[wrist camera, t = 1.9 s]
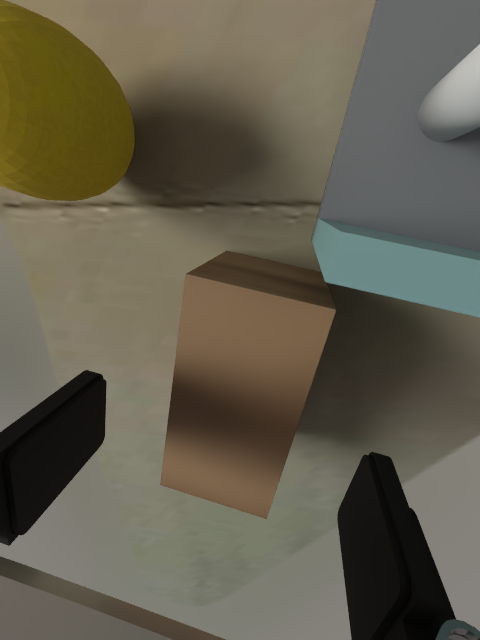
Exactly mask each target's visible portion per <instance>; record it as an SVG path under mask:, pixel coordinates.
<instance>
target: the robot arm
mask: <svg viewBox="0 0 480 640" xmlns="http://www.w3.org/2000/svg"><path fill="white" fill-rule="evenodd" d="M105 414H106V380H104V379H103V376H102V375H101V374H98V373H95V372H91V371H88V370H85V371H83V372H82V373H81V374H79V375H78V376H76V377H75V378H74V379H72V380H71V381H70V382H68V383H67V384H66V385H64V386H63V387H61V388H60V389H59V390H58V391H56V392H55V393H53V394H52V395H51V396H49V397H48V398H46V399H45V400H44V401H43V402H41V403H40V404H38V405H37V406H36V407H34V408H33V409H32V410H30V411H29V412H27V413H26V414H25V415H23V416H22V417H21V418H19V419H18V420H17V421H15V422H14V423H12V424H11V425H10V426H8V427H7V428H6V429H4V430H3V431H2V432H0V543H3V544H6V545H11V543H12V542H13V541H14V540H15V539H16V538H17V537H18V535H23V534H25V533H26V532H27V531H28V530H29V529H30V528H31V527H32V526H33V524H34V523H35V522H36V521H37V520H38V518H39V517H40V516H41V515H42V514H43V513H44V511H45V510H46V509H47V508H48V507H49V506H50V504H51V503H52V502H53V501H54V500H55V499H56V497H57V496H58V495H59V494H60V493H61V492H62V490H63V489H64V488H65V487H66V486H67V485H68V483H69V482H70V481H71V480H72V479H73V478H74V476H75V475H76V474H77V473H78V472H79V470H80V469H81V468H82V467H83V466H84V465H85V463H86V462H87V461H88V460H89V459H90V457H92V455H93V454H94V453H95V452H96V451H97V450H98V448H99V447H100V446H101V445H102V443H103V441H104V438H105ZM338 528H339V536H340V545H341V553H342V561H343V569H344V578H345V587H346V595H347V604H348V612H349V620H350V629H351V637H352V640H480V632H479V631H478V630H477V629H476V628H475V627H473V626H471V625H469V624H467V623H466V622H464V621H460V620H456V618H455V615H454V612H453V610H452V607H451V605H450V602H449V599H448V597H447V594H446V591H445V589H444V586H443V583H442V581H441V578H440V576H439V573H438V570H437V568H436V565H435V562H434V560H433V557H432V555H431V552H430V549H429V547H428V544H427V541H426V539H425V537H424V534H423V531H422V528H421V526H420V523H419V520H418V518H417V516H416V514H415V512H414V511H413V510H412V508H409V505H408V503H407V500H406V497H405V495H404V492H403V489H402V486H401V484H400V481H399V478H398V475H397V473H396V470H395V467H394V464H393V462H392V459H391V458H390V457H388V456H385V455H381V454H378V453H374V452H371V453H369V455H364V456H363V457H362V459H361V461H360V464H359V466H358V468H357V470H356V472H355V475H354V477H353V479H352V481H351V483H350V486H349V488H348V490H347V492H346V494H345V497H344V499H343V501H342V503H341V505H340V508H339V511H338ZM0 640H225V639H223V638H220V637H217V636H215V635H212V634H209V633H207V632H204V631H202V630H199V629H196V628H194V627H191V626H188V625H185V624H183V623H180V622H177V621H175V620H172V619H169V618H167V617H164V616H161V615H159V614H156V613H153V612H150V611H148V610H145V609H143V608H140V607H137V606H135V605H132V604H129V603H127V602H124V601H121V600H119V599H116V598H113V597H111V596H108V595H105V594H102V593H100V592H97V591H94V590H92V589H89V588H86V587H83V586H80V585H78V584H75V583H72V582H70V581H67V580H64V579H61V578H59V577H56V576H53V575H51V574H48V573H45V572H42V571H40V570H37V569H34V568H32V567H29V566H26V565H23V564H21V563H17V562H15V561H12V560H9V559H6V558H3V557H0Z"/></svg>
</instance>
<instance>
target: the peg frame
mask: <svg viewBox="0 0 480 640" xmlns="http://www.w3.org/2000/svg"><path fill="white" fill-rule="evenodd" d="M311 240H312V243H313V246H314V249H315V252H316V255H317V258H318V262H319V265H320V268H321V271H322V274H323V277H324V280H325V282H327V283H332V284H336V285H340V286H345V287H349V288H353V289H358V290H362V291H367V292H371V293H375V294H380V295H384V296H388V297H393V298H397V299H401V300H406V301H410V302H415V303H419V304H423V305H428V306H432V307H436V308H441V309H445V310H449V311H454V312H458V313H463V314H467V315H471V316H476V317H480V0H377V1H376V4H375V8H374V12H373V15H372V19H371V23H370V26H369V30H368V34H367V37H366V41H365V45H364V48H363V52H362V56H361V59H360V63H359V67H358V70H357V74H356V78H355V81H354V85H353V89H352V92H351V96H350V100H349V103H348V107H347V111H346V114H345V118H344V122H343V125H342V129H341V132H340V136H339V140H338V143H337V147H336V151H335V154H334V158H333V162H332V165H331V169H330V173H329V176H328V180H327V184H326V187H325V191H324V195H323V198H322V202H321V206H320V209H319V213H318V217H317V220H316V224H315V228H314V231H313V235H312V239H311Z"/></svg>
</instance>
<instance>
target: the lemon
mask: <svg viewBox="0 0 480 640" xmlns="http://www.w3.org/2000/svg"><path fill="white" fill-rule="evenodd" d="M134 145H135V134H134V123H133V119H132V114H131V110H130V107H129V104H128V102H127V100H126V98H125V96H124V94H123V91H122V89H121V87H120V85H119V83H118V82H117V80H116V79H115V78H114V76H113V75H112V74H111V72H110V71H109V70H108V68H107V67H106V66H105V64H104V63H103V62H102V61H101V59H100V58H99V57H98V56H97V55H96V54H95V53H94V52H93V51H92V50H91V49H90V48H88V47H87V46H86V45H85V44H84V43H82V42H81V41H80V40H79V39H78V38H76V37H75V36H74V35H73V34H71V33H70V32H69V31H68V30H66V29H65V28H63V27H62V26H60V25H59V24H57V23H55V22H54V21H52V20H50V19H48V18H46V17H43V16H41V15H39V14H37V13H34V12H32V11H30V10H28V9H26V8H23V7H21V6H19V5H16V4H13V3H11V2H8V1H4V0H0V186H2V187H5V188H8V189H11V190H14V191H17V192H20V193H23V194H26V195H29V196H33V197H36V198H41V199H46V200H61V201H77V200H83V199H87V198H90V197H93V196H97V195H100V194H102V193H104V192H106V191H107V190H109V189H110V188H111V187H113V186H114V185H116V184H117V183H118V182H119V181H120V179H121V178H122V177H123V175H124V174H125V173H126V171H127V169H128V167H129V164H130V162H131V160H132V157H133V151H134Z"/></svg>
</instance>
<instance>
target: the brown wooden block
mask: <svg viewBox="0 0 480 640" xmlns="http://www.w3.org/2000/svg"><path fill="white" fill-rule="evenodd" d="M335 312H336V308H335V305H334V302H333V299H332V296H331V293H330V290H329V287H328V285H327V282H325V280H324V277H323V274H322V272H317V271H313V270H308V269H304V268H300V267H295V266H291V265H286V264H282V263H277V262H273V261H269V260H264V259H260V258H255V257H251V256H247V255H242V254H238V253H233V252H229V251H225V252H224V253H222V254H220V255H218V256H217V257H215V258H213V259H211V260H210V261H208V262H206V263H204V264H203V265H201V266H199V267H197V268H196V269H194V270H192V271H190V272H189V273H187V274H186V277H185V286H184V294H183V302H182V310H181V319H180V327H179V335H178V343H177V351H176V360H175V368H174V376H173V384H172V392H171V401H170V409H169V417H168V425H167V434H166V442H165V450H164V458H163V466H162V475H161V483H160V485H162V486H165V487H169V488H172V489H175V490H178V491H181V492H184V493H187V494H190V495H193V496H197V497H200V498H203V499H206V500H209V501H212V502H215V503H218V504H222V505H225V506H228V507H231V508H234V509H237V510H240V511H243V512H247V513H250V514H253V515H256V516H259V517H262V518H265V519H267V516H268V513H269V510H270V507H271V504H272V501H273V498H274V495H275V492H276V489H277V486H278V483H279V480H280V477H281V474H282V471H283V468H284V465H285V462H286V459H287V456H288V453H289V450H290V447H291V444H292V441H293V438H294V435H295V432H296V429H297V426H298V423H299V420H300V417H301V414H302V411H303V408H304V405H305V402H306V399H307V396H308V393H309V390H310V387H311V384H312V381H313V378H314V375H315V372H316V369H317V366H318V363H319V360H320V357H321V354H322V351H323V348H324V345H325V342H326V339H327V336H328V333H329V330H330V327H331V324H332V321H333V318H334V315H335Z"/></svg>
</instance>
